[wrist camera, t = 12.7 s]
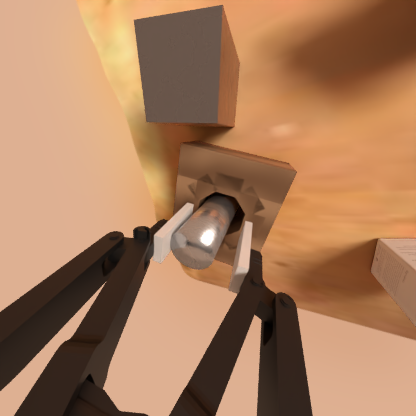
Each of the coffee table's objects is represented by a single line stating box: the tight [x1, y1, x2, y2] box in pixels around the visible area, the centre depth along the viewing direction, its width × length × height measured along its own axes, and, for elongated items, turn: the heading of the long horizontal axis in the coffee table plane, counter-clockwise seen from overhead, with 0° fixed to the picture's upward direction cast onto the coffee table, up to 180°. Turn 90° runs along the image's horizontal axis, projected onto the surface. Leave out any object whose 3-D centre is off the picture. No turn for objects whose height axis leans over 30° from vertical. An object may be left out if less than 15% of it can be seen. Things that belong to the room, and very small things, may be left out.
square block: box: [134, 5, 240, 127], centre depth 15 cm, size 6×6×9 cm
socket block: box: [173, 141, 297, 266], centre depth 22 cm, size 14×12×5 cm
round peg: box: [170, 192, 239, 270], centre depth 19 cm, size 4×4×12 cm
